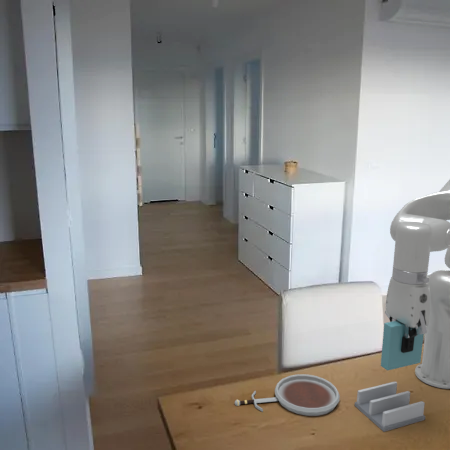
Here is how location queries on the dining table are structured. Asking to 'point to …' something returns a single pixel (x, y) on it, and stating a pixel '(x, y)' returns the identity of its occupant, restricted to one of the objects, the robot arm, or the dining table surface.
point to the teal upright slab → (398, 347)
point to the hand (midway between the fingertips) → (402, 348)
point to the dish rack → (389, 406)
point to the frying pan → (302, 395)
